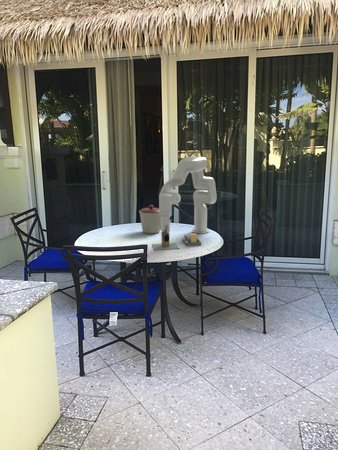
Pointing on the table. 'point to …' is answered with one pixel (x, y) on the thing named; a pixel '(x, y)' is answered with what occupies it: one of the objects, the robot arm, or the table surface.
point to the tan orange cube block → (193, 237)
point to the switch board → (188, 241)
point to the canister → (150, 220)
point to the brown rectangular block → (164, 244)
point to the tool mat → (159, 247)
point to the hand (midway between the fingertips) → (165, 239)
